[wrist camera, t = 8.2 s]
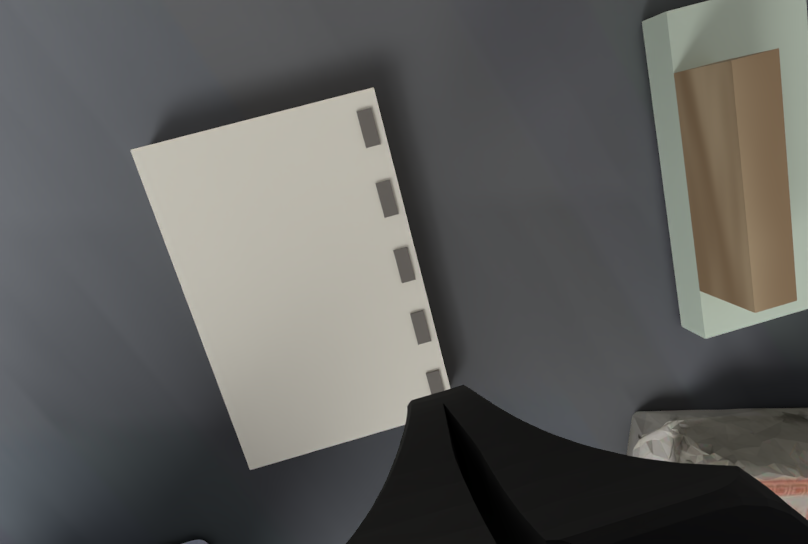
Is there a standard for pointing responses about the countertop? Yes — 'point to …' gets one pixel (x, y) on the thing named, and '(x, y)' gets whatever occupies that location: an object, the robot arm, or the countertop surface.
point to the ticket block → (298, 273)
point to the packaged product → (732, 444)
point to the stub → (733, 157)
